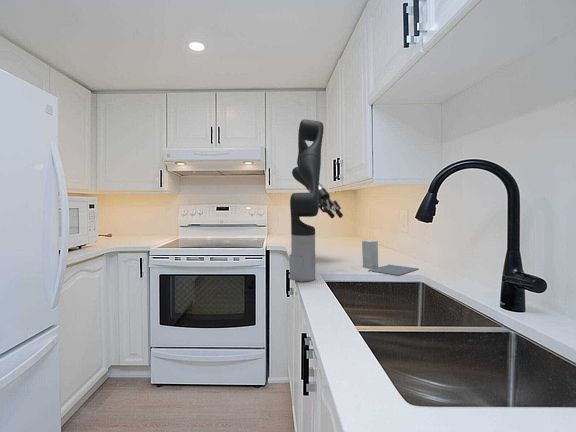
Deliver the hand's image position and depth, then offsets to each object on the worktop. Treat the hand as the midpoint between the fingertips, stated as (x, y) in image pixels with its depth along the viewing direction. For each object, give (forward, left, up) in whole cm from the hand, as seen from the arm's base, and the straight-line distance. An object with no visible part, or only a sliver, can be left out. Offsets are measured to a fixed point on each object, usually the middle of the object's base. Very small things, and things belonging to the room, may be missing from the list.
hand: (337, 216), depth 166 cm
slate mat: (+1, -29, -22) cm, 37 cm away
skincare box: (0, -18, -23) cm, 29 cm away
